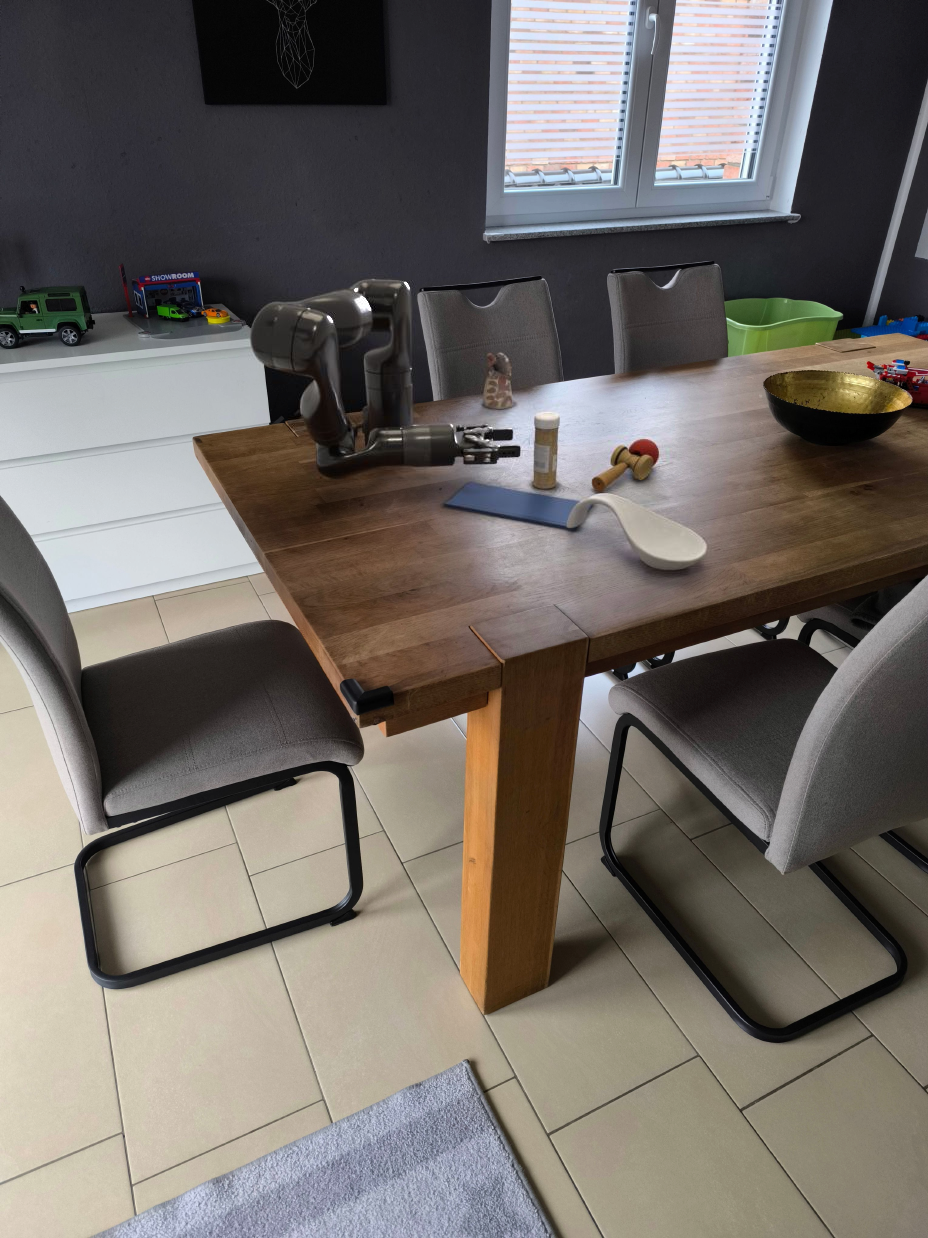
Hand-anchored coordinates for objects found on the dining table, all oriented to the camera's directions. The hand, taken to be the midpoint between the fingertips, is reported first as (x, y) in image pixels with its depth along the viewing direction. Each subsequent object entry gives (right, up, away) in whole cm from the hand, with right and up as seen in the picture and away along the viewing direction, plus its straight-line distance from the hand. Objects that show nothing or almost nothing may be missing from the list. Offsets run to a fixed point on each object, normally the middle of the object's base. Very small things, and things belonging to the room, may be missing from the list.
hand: (516, 442), depth 152 cm
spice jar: (+6, -7, +5) cm, 10 cm away
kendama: (+21, -6, +7) cm, 23 cm away
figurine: (-1, +18, +46) cm, 49 cm away
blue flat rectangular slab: (0, -12, -3) cm, 13 cm away
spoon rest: (+17, -21, -18) cm, 33 cm away
